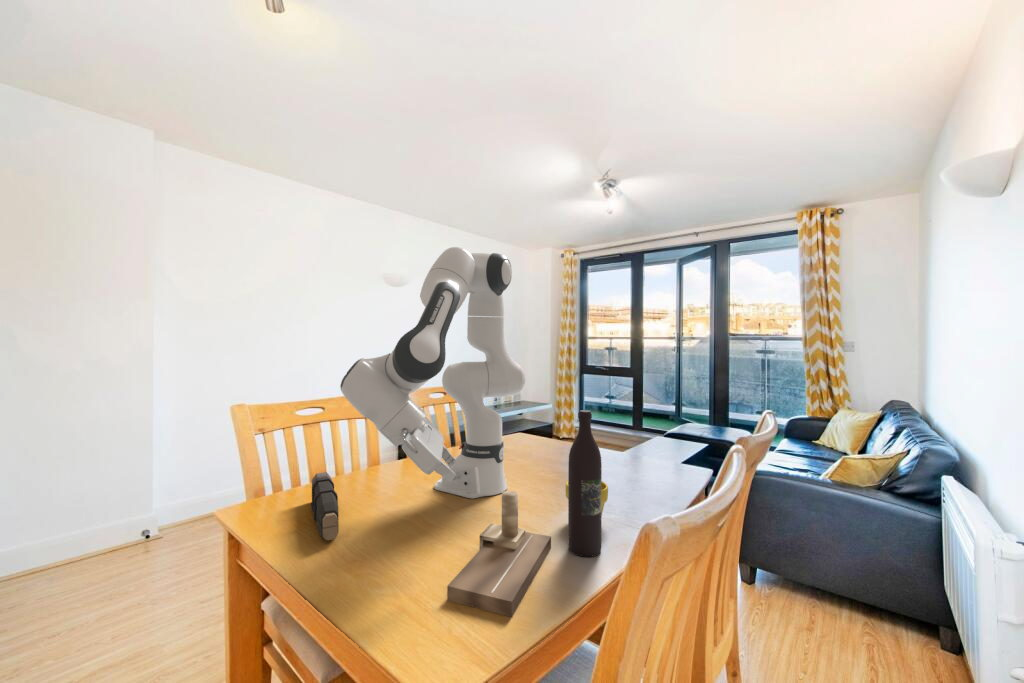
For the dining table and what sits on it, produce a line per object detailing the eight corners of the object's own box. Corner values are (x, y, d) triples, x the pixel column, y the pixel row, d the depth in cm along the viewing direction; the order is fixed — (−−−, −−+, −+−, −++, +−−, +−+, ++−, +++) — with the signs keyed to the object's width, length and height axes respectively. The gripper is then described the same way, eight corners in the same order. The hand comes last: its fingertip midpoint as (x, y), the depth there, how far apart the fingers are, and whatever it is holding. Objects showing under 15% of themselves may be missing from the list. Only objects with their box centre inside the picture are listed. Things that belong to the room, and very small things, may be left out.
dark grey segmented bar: (307, 563, 88) (303, 499, 114) (339, 562, 91) (328, 500, 117) (321, 514, 88) (314, 461, 114) (353, 515, 91) (339, 464, 117)
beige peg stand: (479, 552, 86) (479, 495, 86) (490, 539, 91) (490, 485, 91) (516, 559, 83) (516, 500, 83) (525, 545, 89) (525, 490, 89)
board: (447, 600, 70) (447, 585, 70) (500, 538, 93) (500, 527, 93) (511, 617, 66) (511, 601, 66) (551, 547, 89) (551, 536, 89)
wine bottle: (579, 560, 83) (580, 414, 83) (562, 545, 90) (562, 409, 90) (608, 553, 86) (608, 412, 86) (589, 539, 93) (589, 407, 93)
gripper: (411, 424, 74) (465, 475, 75) (420, 406, 94) (463, 446, 95) (386, 449, 73) (440, 500, 75) (401, 425, 93) (443, 466, 95)
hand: (453, 470), depth 85 cm, fingers open, 8 cm apart
